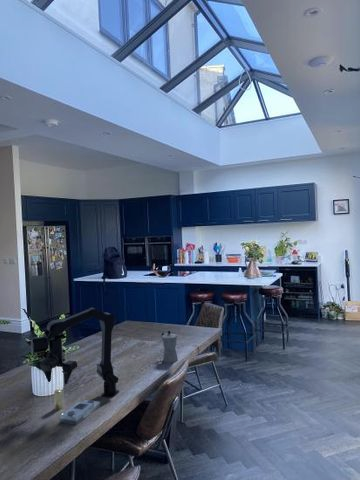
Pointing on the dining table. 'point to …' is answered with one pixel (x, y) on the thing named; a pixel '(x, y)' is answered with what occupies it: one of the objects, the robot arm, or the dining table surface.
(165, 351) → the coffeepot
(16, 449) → the dining table surface
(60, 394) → the pin
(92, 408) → the slotted mounting bracket
